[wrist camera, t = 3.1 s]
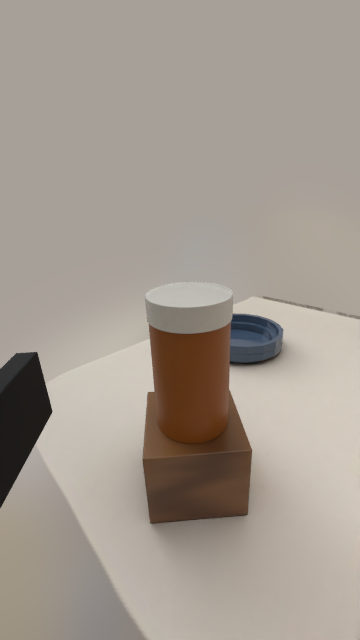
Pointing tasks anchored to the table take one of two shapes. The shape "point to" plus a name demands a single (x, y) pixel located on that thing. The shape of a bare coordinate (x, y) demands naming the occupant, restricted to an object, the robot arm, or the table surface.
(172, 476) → the riser
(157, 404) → the vitamin bottle
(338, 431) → the table surface
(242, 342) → the bowl
